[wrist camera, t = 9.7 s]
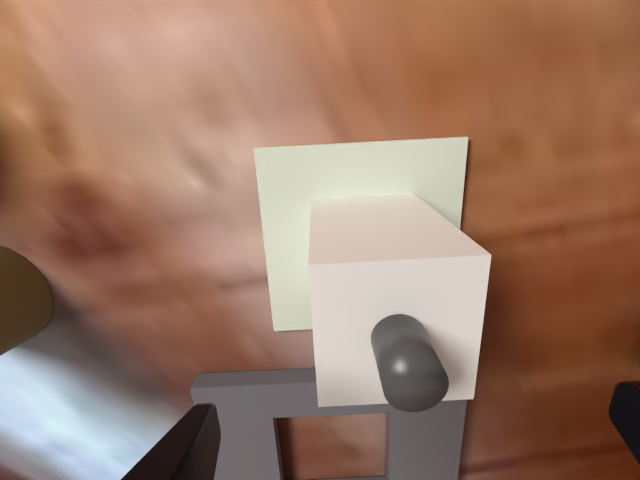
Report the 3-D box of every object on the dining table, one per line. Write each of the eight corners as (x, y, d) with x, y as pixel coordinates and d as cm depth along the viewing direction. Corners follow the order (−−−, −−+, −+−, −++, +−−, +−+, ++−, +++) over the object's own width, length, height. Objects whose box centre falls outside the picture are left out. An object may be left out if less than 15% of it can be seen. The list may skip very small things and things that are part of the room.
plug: (413, 193, 17) (535, 289, 8) (409, 284, 19) (505, 457, 9) (311, 198, 17) (306, 301, 8) (317, 289, 19) (318, 466, 9)
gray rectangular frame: (461, 360, 21) (470, 374, 20) (446, 497, 25) (453, 516, 24) (196, 373, 21) (189, 388, 20) (224, 508, 25) (220, 526, 24)
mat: (464, 136, 16) (468, 137, 16) (448, 318, 20) (451, 322, 20) (254, 147, 17) (253, 148, 16) (274, 327, 20) (273, 331, 20)
